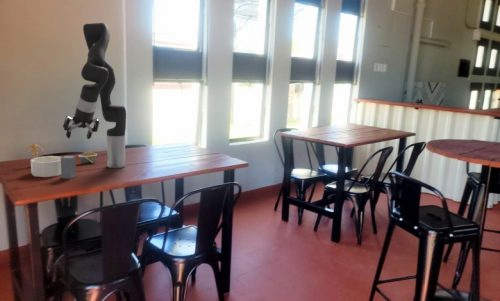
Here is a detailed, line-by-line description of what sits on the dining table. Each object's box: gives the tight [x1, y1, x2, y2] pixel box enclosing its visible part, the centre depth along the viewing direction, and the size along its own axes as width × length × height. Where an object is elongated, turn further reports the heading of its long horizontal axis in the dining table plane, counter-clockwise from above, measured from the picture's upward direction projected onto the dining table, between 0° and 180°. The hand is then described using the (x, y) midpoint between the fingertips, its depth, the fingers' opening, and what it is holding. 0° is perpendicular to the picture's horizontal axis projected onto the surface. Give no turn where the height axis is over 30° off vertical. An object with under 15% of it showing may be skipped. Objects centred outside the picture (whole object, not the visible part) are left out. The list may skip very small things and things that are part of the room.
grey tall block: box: [60, 155, 77, 180], centre depth 183 cm, size 5×5×10 cm
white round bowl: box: [30, 155, 62, 178], centre depth 188 cm, size 14×14×7 cm
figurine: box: [25, 142, 44, 159], centre depth 199 cm, size 8×6×12 cm
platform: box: [78, 151, 98, 165], centre depth 211 cm, size 12×18×7 cm, turn 134°
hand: (78, 137), depth 174 cm, fingers open, 8 cm apart
